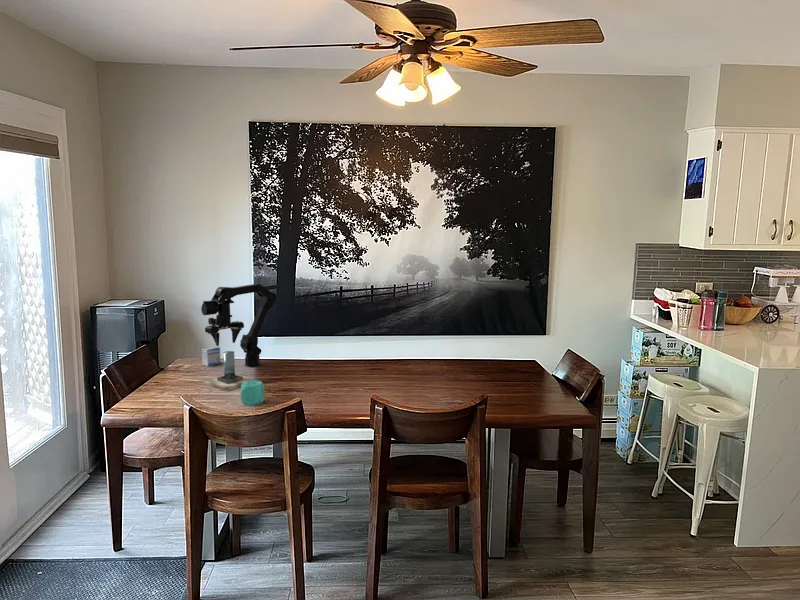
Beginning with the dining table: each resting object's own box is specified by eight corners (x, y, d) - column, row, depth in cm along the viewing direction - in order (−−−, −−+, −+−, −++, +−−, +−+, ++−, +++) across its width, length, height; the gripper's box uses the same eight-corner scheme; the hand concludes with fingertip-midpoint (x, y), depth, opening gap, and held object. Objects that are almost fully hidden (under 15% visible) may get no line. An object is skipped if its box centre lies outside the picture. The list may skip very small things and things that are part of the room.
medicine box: (207, 366, 300) (206, 350, 299) (202, 365, 303) (201, 348, 302) (221, 363, 307) (220, 347, 305) (215, 362, 309) (214, 346, 308)
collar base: (234, 376, 281) (234, 370, 281) (255, 382, 271) (255, 376, 271) (204, 384, 269) (204, 378, 269) (225, 390, 259) (225, 384, 259)
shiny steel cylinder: (227, 378, 273) (225, 351, 271) (237, 379, 272) (235, 351, 270) (222, 381, 268) (221, 353, 266) (232, 382, 267) (231, 353, 266)
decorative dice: (264, 398, 248) (263, 380, 247) (261, 405, 240) (260, 385, 239) (245, 399, 248) (244, 380, 246) (241, 405, 240) (240, 386, 238)
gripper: (230, 308, 301) (232, 339, 304) (197, 313, 287) (199, 345, 289) (244, 311, 294) (245, 342, 297) (211, 316, 280) (212, 348, 282)
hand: (225, 344), depth 291 cm, fingers open, 9 cm apart
